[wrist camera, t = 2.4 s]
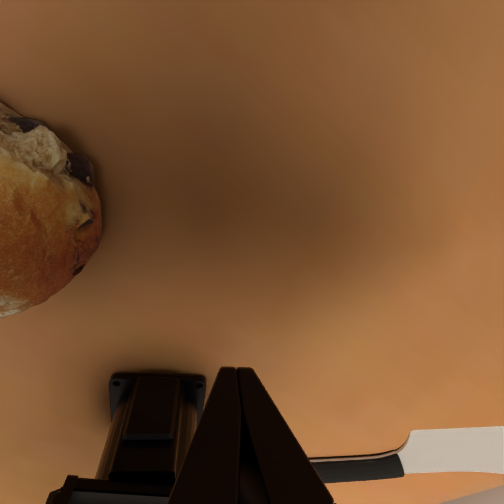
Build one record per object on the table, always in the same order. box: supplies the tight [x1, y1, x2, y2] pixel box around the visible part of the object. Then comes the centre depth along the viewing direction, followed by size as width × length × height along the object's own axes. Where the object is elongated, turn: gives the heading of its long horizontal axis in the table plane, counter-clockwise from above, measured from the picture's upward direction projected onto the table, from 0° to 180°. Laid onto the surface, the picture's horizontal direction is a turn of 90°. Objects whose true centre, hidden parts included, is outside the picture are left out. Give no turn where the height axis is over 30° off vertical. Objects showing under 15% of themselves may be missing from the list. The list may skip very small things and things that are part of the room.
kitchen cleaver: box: [308, 426, 504, 483], centre depth 30 cm, size 31×2×10 cm
